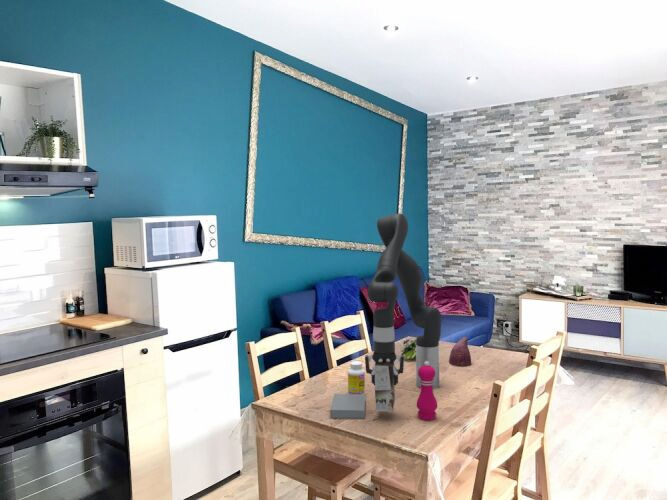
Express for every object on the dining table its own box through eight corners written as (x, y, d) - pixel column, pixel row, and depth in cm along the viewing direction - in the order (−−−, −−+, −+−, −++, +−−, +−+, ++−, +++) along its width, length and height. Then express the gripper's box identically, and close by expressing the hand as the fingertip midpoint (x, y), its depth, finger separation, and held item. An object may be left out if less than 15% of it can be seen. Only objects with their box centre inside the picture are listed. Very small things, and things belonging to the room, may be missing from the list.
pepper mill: (414, 413, 182) (414, 358, 181) (434, 412, 183) (433, 358, 182) (419, 421, 175) (419, 364, 174) (439, 420, 176) (439, 363, 174)
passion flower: (406, 367, 255) (409, 344, 261) (425, 366, 248) (428, 343, 254) (395, 359, 248) (398, 336, 254) (414, 358, 241) (417, 334, 247)
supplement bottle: (360, 398, 198) (359, 366, 197) (345, 395, 201) (344, 364, 200) (367, 393, 204) (367, 361, 203) (352, 390, 207) (352, 359, 206)
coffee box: (393, 411, 175) (392, 365, 174) (374, 410, 176) (373, 365, 175) (395, 401, 184) (394, 358, 183) (377, 400, 185) (376, 357, 184)
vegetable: (472, 369, 243) (481, 339, 242) (465, 371, 234) (474, 341, 233) (452, 360, 249) (460, 331, 247) (444, 363, 240) (453, 333, 239)
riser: (365, 402, 194) (365, 394, 194) (364, 418, 178) (364, 410, 178) (334, 401, 195) (334, 393, 195) (330, 418, 179) (330, 409, 179)
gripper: (404, 335, 181) (404, 381, 183) (363, 335, 183) (364, 381, 184) (405, 341, 174) (405, 388, 175) (363, 341, 175) (364, 388, 177)
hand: (384, 384), depth 180 cm, fingers closed on coffee box, 6 cm apart
